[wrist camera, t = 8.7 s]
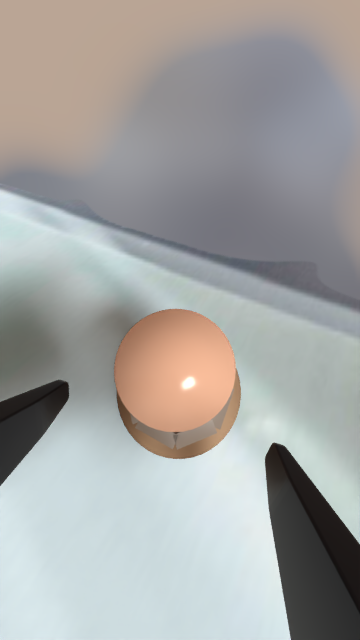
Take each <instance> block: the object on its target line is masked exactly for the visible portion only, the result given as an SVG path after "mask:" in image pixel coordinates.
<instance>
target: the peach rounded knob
mask: <svg viewBox="0 0 360 640" xmlns="http://www.w3.org/2000/svg"><path fill="white" fill-rule="evenodd" d="M235 373H236V367H235V358H234V354H233V351H232V347H231V345H230V343H229V341H228V339H227V338H226V336H225V334H224V333H223V332H222V331H221V329H220V328H219V327H218V326H217V325H216V324H215V323H213V322H212V321H211V320H209V319H208V318H206V317H204V316H203V315H201V314H198V313H196V312H193V311H189V310H183V309H168V310H162V311H159V312H155V313H153V314H151V315H148V316H147V317H145V318H143V319H142V320H140V321H139V322H138V323H136V324H135V325H134V326H133V327H132V328H131V329H130V330H129V332H128V333H127V334H126V335H125V337H124V339H123V340H122V342H121V344H120V346H119V349H118V352H117V355H116V359H115V366H114V376H115V383H116V388H117V391H118V394H119V396H120V398H121V400H122V402H123V404H124V405H125V407H126V408H127V410H128V411H129V412H130V413H131V414H132V415H133V416H134V417H135V418H136V419H138V420H139V421H140V422H142V423H143V424H145V425H147V426H149V427H151V428H154V429H156V430H161V431H165V432H184V431H188V430H192V429H195V428H197V427H200V426H202V425H204V424H205V423H207V422H209V421H210V420H211V419H212V418H214V417H215V416H216V415H217V414H218V413H219V412H220V411H221V410H222V408H223V407H224V405H225V404H226V403H227V401H228V399H229V397H230V395H231V392H232V389H233V386H234V382H235Z"/></svg>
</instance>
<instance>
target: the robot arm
mask: <svg viewBox="0 0 360 640" xmlns="http://www.w3.org/2000/svg"><path fill="white" fill-rule="evenodd" d="M68 398H69V385H68V382H66V381H63V380H56V381H54V382H51V383H48V384H46V385H43V386H41V387H38V388H35V389H33V390H30V391H28V392H25V393H22V394H20V395H17V396H14V397H12V398H9V399H7V400H4V401H1V402H0V486H1V484H2V483H3V482H4V481H5V480H6V479H7V477H8V476H9V475H10V474H11V473H12V471H13V470H14V469H15V468H16V467H17V465H18V464H19V463H20V462H21V461H22V460H23V458H24V457H25V456H26V455H27V454H28V452H29V451H30V450H31V449H32V448H33V446H34V445H35V444H36V443H37V442H38V441H39V439H40V438H41V437H42V436H43V434H44V433H45V432H46V430H47V429H48V428H49V426H50V425H51V423H52V422H53V421H54V419H55V418H56V416H57V415H58V413H59V412H60V411H61V409H62V408H63V406H64V405H65V404H66V402H67V400H68ZM265 467H266V480H267V492H268V504H269V512H270V519H271V524H272V530H273V536H274V542H275V548H276V554H277V560H278V566H279V572H280V577H281V583H282V589H283V595H284V601H285V607H286V613H287V619H288V625H289V630H290V636H291V640H360V544H359V543H358V541H357V540H356V539H355V537H354V536H353V535H352V534H351V532H350V531H349V530H348V528H347V527H346V526H345V524H344V523H343V522H342V520H341V519H340V518H339V516H338V515H337V514H336V513H335V511H334V510H333V509H332V507H331V506H330V505H329V503H328V502H327V501H326V499H325V498H324V497H323V495H322V494H321V493H320V492H319V490H318V489H317V488H316V486H315V485H314V484H313V482H312V481H311V480H310V478H309V477H308V476H307V474H306V473H305V472H304V471H303V469H302V468H301V467H300V465H299V464H298V463H297V461H296V460H295V459H294V457H293V456H292V455H291V453H290V452H289V451H288V450H287V448H286V447H285V446H284V445H281V444H278V443H272V445H271V447H270V449H269V450H268V452H267V454H266V457H265Z"/></svg>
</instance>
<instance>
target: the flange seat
mask: <svg viewBox="0 0 360 640" xmlns="http://www.w3.org/2000/svg"><path fill="white" fill-rule="evenodd" d="M240 398H241V388H240V380H239V376H238V372H237V369H236V373H235V382H234V386H233V389H232V392H231V395H230V397H229V399H228V401H227V403H226V404H225V405H224V407H223V408H222V410H221V411H220V412H219V413H218V414H217V415H216V416H215V417H214V418H212V419H211V420H210V421H209V422H207V423H205V424H204V425H202V426H200V427H197V428H195V429H192V430H188V431H184V432H165V431H161V430H156V429H154V428H151V427H149V426H147V425H145V424H143V423H142V422H140V421H139V420H138V419H136V418H135V417H134V416H133V415H132V414H131V413H130V412H129V411H128V410H127V408H126V407H125V405H124V404H123V402H122V400H121V398H120V396H119V394H118V391H117V402H118V408H119V412H120V416H121V418H122V420H123V423H124V425H125V427H126V428H127V430H128V432H129V433H130V434H131V436H132V437H133V438H134V439H135V440H136V441H137V442H138V443H139V444H140V445H141V446H143V447H144V448H145V449H147V450H148V451H150V452H152V453H154V454H156V455H159V456H163V457H166V458H173V459H185V458H191V457H195V456H198V455H201V454H203V453H205V452H207V451H209V450H210V449H212V448H213V447H215V446H216V445H217V444H218V443H219V442H220V441H221V440H223V439H224V437H225V436H226V435H227V433H228V432H229V431H230V429H231V427H232V426H233V424H234V422H235V419H236V417H237V414H238V410H239V406H240Z"/></svg>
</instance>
